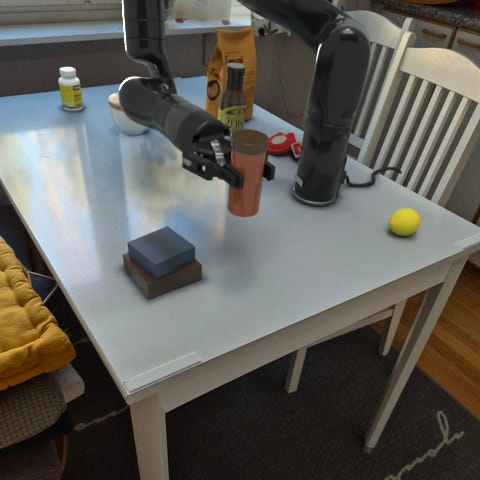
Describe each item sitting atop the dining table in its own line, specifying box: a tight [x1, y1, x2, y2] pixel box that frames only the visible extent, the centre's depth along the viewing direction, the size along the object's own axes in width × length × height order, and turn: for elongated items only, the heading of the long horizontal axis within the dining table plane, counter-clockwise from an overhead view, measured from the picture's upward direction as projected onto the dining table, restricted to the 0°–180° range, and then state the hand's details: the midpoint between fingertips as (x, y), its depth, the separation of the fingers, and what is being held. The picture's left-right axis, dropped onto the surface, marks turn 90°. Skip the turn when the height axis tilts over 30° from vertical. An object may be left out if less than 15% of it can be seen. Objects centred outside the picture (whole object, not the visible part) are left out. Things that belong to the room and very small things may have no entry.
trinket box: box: [107, 92, 148, 136], centre depth 118 cm, size 11×11×9 cm
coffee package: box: [204, 26, 258, 122], centre depth 125 cm, size 10×12×22 cm
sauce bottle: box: [218, 63, 246, 136], centre depth 109 cm, size 6×6×20 cm
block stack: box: [122, 225, 203, 300], centre depth 78 cm, size 10×9×6 cm
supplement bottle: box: [58, 66, 84, 112], centre depth 125 cm, size 5×5×10 cm
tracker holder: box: [268, 131, 302, 160], centre depth 118 cm, size 12×4×10 cm
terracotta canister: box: [226, 128, 270, 218], centre depth 69 cm, size 5×5×11 cm
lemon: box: [388, 207, 421, 236], centre depth 93 cm, size 7×5×5 cm
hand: (257, 178), depth 67 cm, fingers closed on terracotta canister, 5 cm apart
